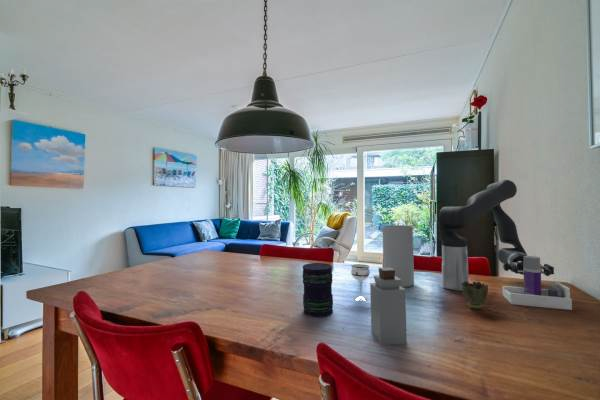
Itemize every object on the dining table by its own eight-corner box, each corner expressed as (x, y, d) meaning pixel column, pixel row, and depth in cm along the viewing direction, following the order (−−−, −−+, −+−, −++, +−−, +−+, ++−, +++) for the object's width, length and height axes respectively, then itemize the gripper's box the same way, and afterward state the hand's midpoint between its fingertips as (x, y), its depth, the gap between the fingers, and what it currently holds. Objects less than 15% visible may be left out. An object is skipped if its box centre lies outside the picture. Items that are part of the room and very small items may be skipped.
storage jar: (312, 320, 86) (311, 270, 86) (297, 309, 94) (297, 265, 94) (339, 313, 90) (338, 267, 90) (323, 304, 99) (322, 261, 99)
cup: (485, 305, 95) (484, 281, 95) (492, 313, 88) (491, 287, 88) (460, 303, 97) (459, 280, 97) (465, 310, 90) (464, 286, 90)
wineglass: (373, 298, 104) (373, 265, 104) (364, 303, 99) (363, 269, 99) (357, 294, 109) (357, 263, 109) (348, 299, 104) (347, 266, 104)
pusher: (557, 304, 92) (557, 289, 92) (548, 297, 99) (547, 283, 99) (561, 305, 92) (561, 289, 92) (551, 298, 98) (551, 283, 98)
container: (545, 302, 95) (543, 258, 95) (529, 302, 96) (527, 258, 96) (536, 298, 99) (535, 255, 99) (521, 297, 100) (520, 255, 100)
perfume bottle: (371, 332, 76) (369, 266, 77) (395, 331, 77) (393, 265, 77) (380, 345, 70) (378, 272, 70) (406, 343, 70) (404, 271, 71)
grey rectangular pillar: (416, 281, 124) (415, 225, 125) (410, 289, 114) (409, 227, 114) (388, 278, 131) (386, 224, 131) (380, 285, 120) (378, 227, 121)
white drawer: (511, 304, 95) (510, 284, 96) (502, 295, 105) (502, 277, 105) (572, 309, 89) (571, 289, 90) (557, 299, 99) (556, 281, 99)
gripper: (498, 252, 115) (506, 259, 100) (543, 254, 108) (558, 262, 94) (499, 270, 115) (507, 280, 100) (544, 274, 108) (559, 285, 94)
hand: (532, 271), depth 97 cm, fingers open, 8 cm apart
